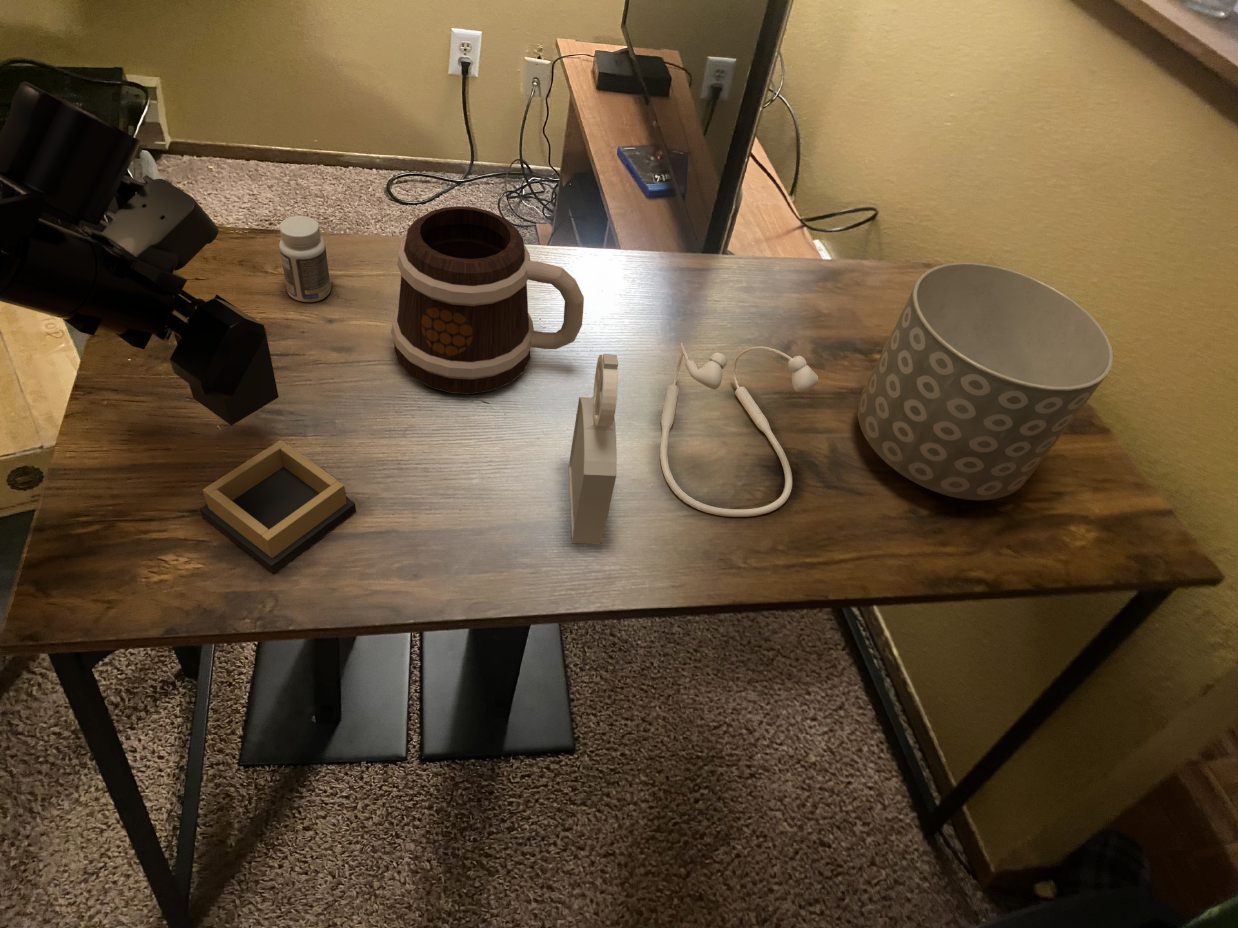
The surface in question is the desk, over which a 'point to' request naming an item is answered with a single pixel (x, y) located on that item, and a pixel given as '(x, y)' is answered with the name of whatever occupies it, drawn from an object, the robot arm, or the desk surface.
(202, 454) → the desk surface
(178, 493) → the desk surface
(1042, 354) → the planter
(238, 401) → the orange rectangular block
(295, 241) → the pill bottle
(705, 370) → the earphone
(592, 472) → the gravestone
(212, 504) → the base pad
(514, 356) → the mug
